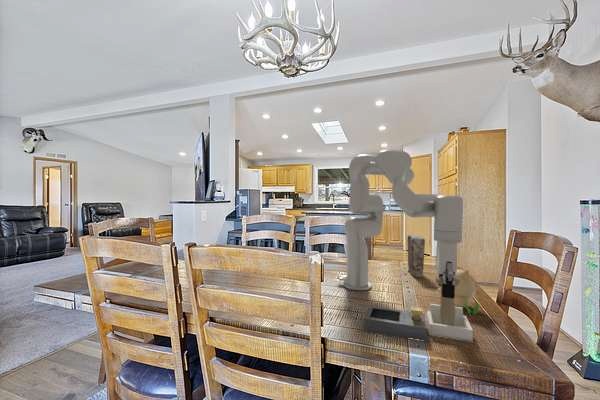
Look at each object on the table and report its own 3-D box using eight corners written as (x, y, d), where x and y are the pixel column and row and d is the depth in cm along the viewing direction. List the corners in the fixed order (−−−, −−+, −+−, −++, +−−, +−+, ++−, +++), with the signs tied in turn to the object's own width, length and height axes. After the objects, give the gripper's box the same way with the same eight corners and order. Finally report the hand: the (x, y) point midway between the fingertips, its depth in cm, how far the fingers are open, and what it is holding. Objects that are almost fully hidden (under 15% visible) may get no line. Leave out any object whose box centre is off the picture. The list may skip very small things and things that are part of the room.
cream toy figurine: (489, 314, 96) (489, 271, 96) (464, 316, 95) (463, 272, 95) (458, 298, 111) (458, 261, 111) (436, 300, 109) (436, 262, 109)
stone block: (426, 277, 140) (426, 238, 139) (412, 277, 140) (412, 238, 140) (417, 270, 153) (417, 234, 153) (404, 270, 153) (404, 234, 153)
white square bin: (429, 335, 81) (429, 315, 81) (427, 321, 91) (427, 303, 91) (472, 342, 77) (472, 321, 77) (465, 327, 87) (465, 307, 87)
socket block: (364, 331, 84) (364, 318, 84) (368, 317, 94) (368, 305, 94) (426, 342, 78) (426, 328, 78) (424, 325, 88) (424, 313, 87)
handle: (462, 332, 81) (461, 281, 81) (438, 330, 83) (437, 280, 83) (456, 325, 86) (456, 277, 86) (434, 323, 87) (433, 276, 87)
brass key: (411, 333, 83) (411, 309, 83) (411, 328, 86) (411, 306, 85) (422, 334, 82) (422, 311, 82) (421, 330, 84) (421, 307, 84)
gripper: (431, 231, 93) (430, 281, 94) (436, 239, 77) (434, 300, 78) (457, 232, 91) (455, 284, 91) (467, 242, 74) (465, 304, 75)
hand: (445, 291), depth 85 cm, fingers open, 9 cm apart
